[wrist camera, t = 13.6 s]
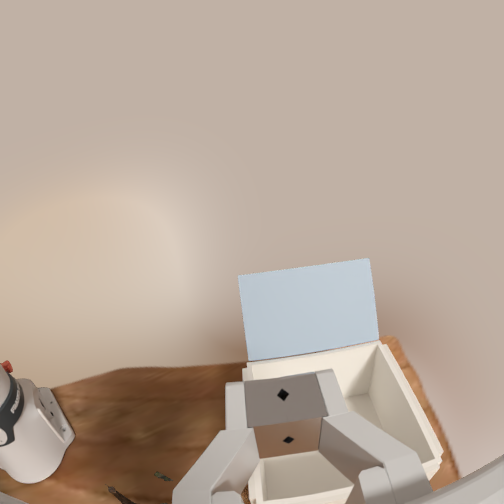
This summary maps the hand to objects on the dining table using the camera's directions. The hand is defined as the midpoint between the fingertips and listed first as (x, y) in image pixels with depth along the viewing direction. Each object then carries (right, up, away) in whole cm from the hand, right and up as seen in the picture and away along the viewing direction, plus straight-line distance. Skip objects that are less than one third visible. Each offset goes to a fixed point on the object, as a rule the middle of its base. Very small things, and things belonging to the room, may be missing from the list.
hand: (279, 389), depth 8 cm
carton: (+9, -23, +26) cm, 36 cm away
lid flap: (+7, -3, +31) cm, 32 cm away
